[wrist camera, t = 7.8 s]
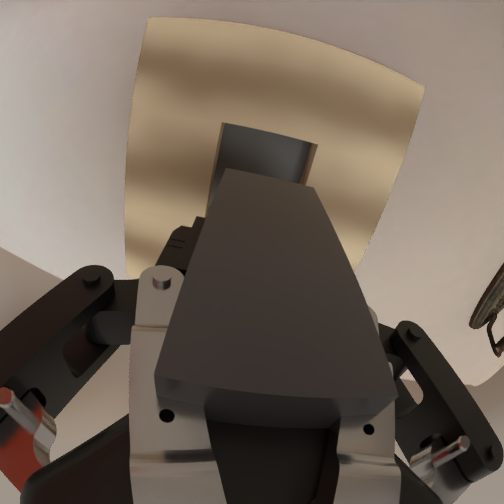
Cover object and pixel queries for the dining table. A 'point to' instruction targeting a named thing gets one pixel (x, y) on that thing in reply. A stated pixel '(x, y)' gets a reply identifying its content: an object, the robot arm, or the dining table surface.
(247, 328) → the plug
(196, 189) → the socket board
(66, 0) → the dining table surface
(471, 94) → the dining table surface
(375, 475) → the robot arm
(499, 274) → the clothes iron
